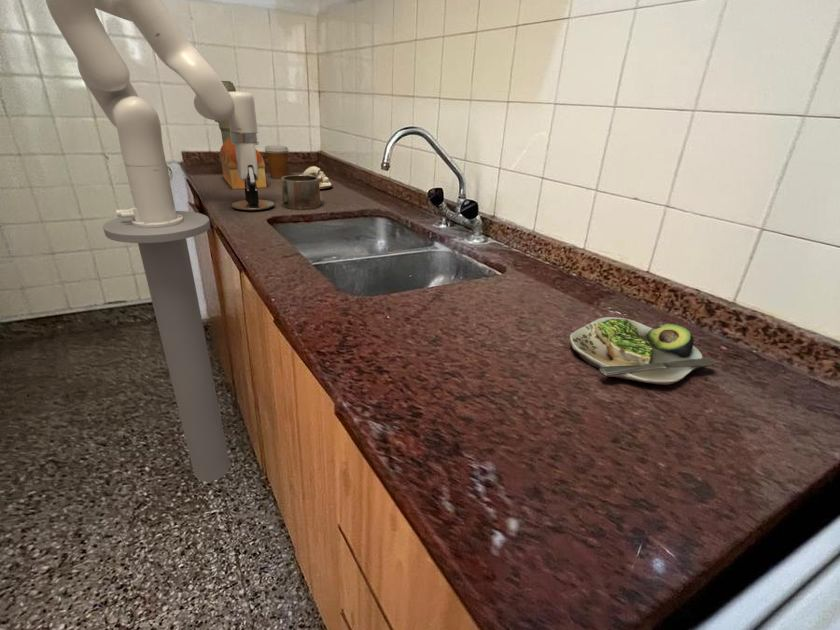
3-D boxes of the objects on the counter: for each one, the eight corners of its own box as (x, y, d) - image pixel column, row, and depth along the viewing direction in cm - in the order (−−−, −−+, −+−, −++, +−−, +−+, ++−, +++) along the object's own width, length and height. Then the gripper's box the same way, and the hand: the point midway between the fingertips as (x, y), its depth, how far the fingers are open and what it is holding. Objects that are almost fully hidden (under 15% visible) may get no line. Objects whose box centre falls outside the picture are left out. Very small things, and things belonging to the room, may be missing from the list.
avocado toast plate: (658, 415, 55) (669, 384, 53) (540, 352, 67) (546, 325, 65) (721, 366, 66) (732, 338, 64) (610, 320, 78) (616, 296, 76)
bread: (222, 177, 182) (216, 138, 175) (254, 176, 187) (250, 138, 181) (232, 189, 162) (226, 145, 156) (267, 187, 168) (263, 145, 161)
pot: (288, 210, 138) (285, 182, 134) (280, 202, 147) (278, 175, 143) (324, 208, 143) (323, 180, 139) (315, 200, 152) (313, 174, 148)
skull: (337, 182, 177) (332, 164, 167) (331, 204, 173) (326, 187, 164) (307, 179, 178) (300, 161, 168) (301, 201, 174) (294, 184, 164)
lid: (234, 213, 132) (231, 188, 129) (230, 204, 142) (226, 181, 139) (277, 210, 137) (275, 186, 134) (270, 201, 147) (268, 179, 144)
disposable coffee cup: (286, 179, 184) (283, 148, 179) (263, 178, 184) (260, 147, 179) (293, 175, 192) (291, 146, 187) (272, 174, 193) (269, 144, 187)
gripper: (227, 136, 136) (236, 197, 144) (234, 142, 123) (243, 209, 131) (254, 136, 139) (260, 196, 147) (262, 141, 126) (269, 207, 134)
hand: (252, 201), depth 139 cm, fingers closed on lid, 2 cm apart
